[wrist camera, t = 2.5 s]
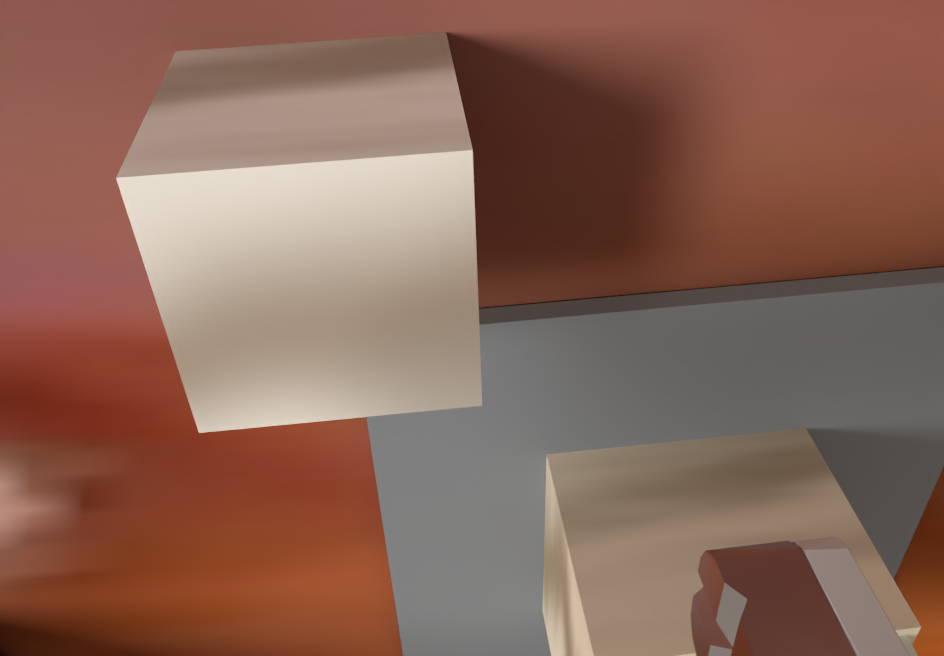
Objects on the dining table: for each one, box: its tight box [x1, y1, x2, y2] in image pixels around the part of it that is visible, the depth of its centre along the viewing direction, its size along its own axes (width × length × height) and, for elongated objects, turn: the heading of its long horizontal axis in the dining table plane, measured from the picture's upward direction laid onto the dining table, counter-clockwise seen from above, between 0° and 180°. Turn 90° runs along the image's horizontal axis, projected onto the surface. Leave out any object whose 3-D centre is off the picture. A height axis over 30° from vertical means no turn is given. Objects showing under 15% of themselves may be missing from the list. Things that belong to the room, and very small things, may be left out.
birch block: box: [542, 428, 921, 656], centre depth 23 cm, size 7×7×6 cm
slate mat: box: [366, 267, 944, 656], centre depth 25 cm, size 16×16×1 cm
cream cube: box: [116, 32, 482, 433], centre depth 16 cm, size 5×5×5 cm
